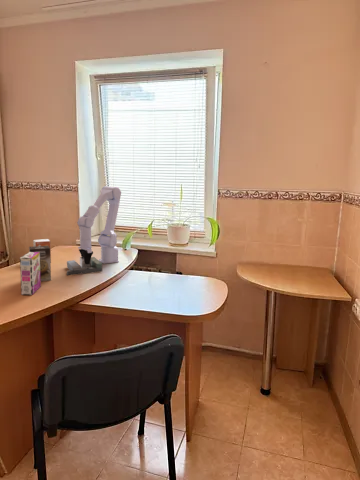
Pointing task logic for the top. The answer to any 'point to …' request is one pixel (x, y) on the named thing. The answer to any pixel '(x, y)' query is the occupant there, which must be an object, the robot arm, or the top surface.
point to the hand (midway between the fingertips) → (86, 262)
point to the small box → (42, 244)
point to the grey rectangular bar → (73, 265)
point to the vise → (95, 266)
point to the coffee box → (43, 261)
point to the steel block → (82, 263)
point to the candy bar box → (30, 273)
